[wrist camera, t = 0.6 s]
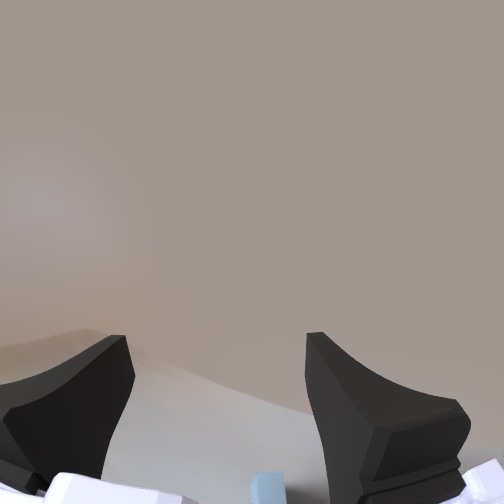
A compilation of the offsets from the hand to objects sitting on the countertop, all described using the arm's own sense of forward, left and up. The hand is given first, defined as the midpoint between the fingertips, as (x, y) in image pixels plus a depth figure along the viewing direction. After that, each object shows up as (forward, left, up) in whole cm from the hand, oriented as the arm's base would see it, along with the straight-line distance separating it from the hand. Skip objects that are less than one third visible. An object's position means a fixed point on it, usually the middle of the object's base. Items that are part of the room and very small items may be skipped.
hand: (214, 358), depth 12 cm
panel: (-6, -3, -16) cm, 18 cm away
